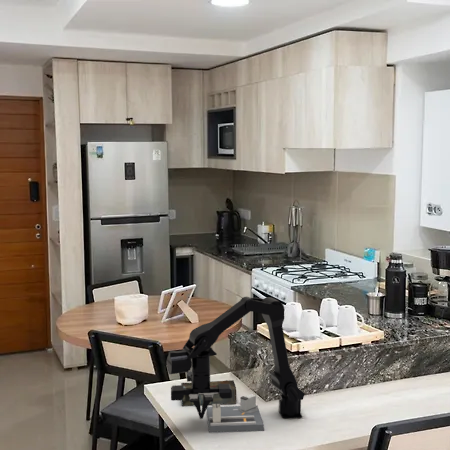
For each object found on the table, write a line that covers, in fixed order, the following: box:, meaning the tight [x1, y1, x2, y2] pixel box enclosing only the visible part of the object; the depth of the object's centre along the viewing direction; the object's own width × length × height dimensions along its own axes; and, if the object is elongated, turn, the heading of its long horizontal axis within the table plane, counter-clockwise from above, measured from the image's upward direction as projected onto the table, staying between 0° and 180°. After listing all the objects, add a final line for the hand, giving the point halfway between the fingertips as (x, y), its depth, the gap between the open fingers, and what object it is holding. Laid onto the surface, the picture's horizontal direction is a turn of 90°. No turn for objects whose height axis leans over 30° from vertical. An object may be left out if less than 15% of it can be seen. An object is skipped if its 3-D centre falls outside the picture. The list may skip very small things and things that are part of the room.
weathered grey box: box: [180, 379, 237, 407], centre depth 217 cm, size 8×19×7 cm, turn 96°
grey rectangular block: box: [239, 393, 257, 411], centre depth 205 cm, size 5×2×4 cm, turn 134°
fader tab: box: [211, 404, 222, 423], centre depth 195 cm, size 2×3×5 cm
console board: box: [206, 404, 265, 434], centre depth 200 cm, size 17×15×3 cm
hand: (201, 418), depth 195 cm, fingers closed
